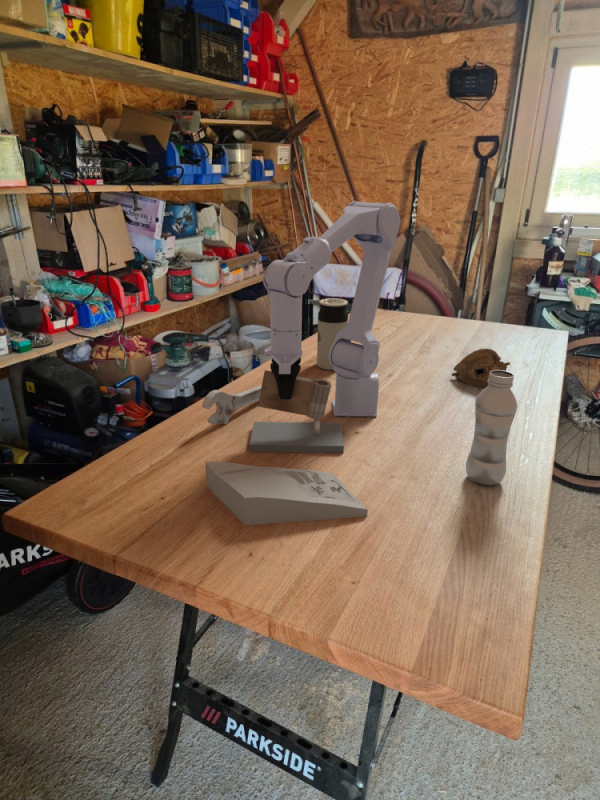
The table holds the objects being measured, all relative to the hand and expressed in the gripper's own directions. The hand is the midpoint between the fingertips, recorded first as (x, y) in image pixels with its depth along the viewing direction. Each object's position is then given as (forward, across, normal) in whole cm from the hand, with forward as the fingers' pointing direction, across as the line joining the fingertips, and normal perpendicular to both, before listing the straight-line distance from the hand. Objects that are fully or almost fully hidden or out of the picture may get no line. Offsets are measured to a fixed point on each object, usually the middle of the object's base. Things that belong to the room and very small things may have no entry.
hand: (285, 396), depth 102 cm
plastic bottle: (+10, +14, +35) cm, 39 cm away
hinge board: (+9, 0, +2) cm, 10 cm away
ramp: (+10, +21, 0) cm, 24 cm away
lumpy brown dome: (+10, -40, +52) cm, 66 cm away
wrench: (+10, -15, -8) cm, 20 cm away
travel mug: (+10, -44, +11) cm, 46 cm away
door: (+3, 0, +1) cm, 3 cm away
